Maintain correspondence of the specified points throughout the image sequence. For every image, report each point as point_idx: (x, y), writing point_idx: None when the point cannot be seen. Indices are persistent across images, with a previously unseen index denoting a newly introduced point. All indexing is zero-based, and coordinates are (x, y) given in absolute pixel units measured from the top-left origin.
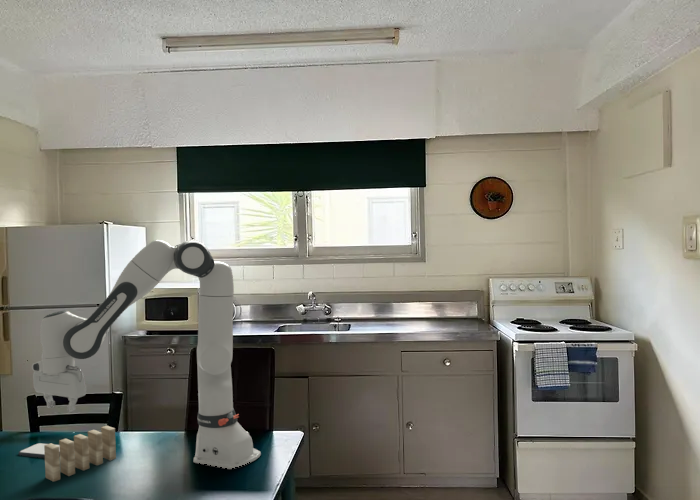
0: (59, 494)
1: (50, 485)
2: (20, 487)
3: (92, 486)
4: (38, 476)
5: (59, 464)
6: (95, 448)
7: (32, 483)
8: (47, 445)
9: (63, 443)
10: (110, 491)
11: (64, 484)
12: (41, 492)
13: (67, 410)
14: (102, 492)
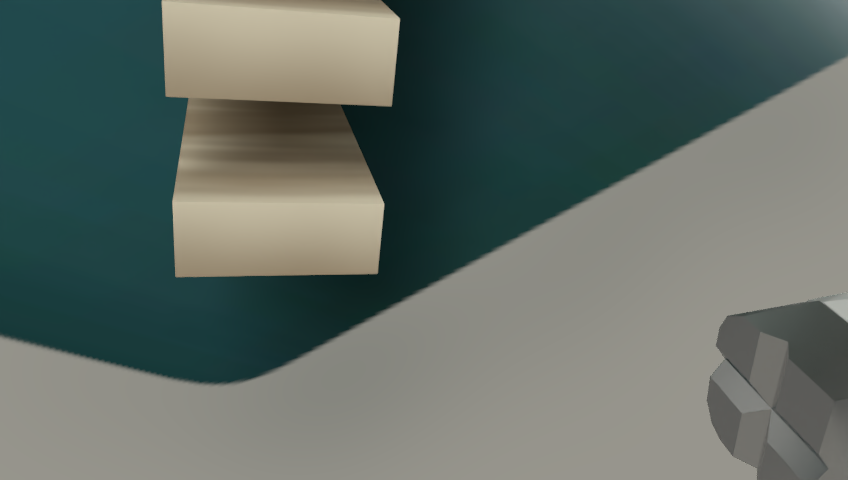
0: (556, 216)
1: None
2: (206, 309)
3: (671, 36)
4: (107, 156)
5: (351, 134)
6: None
7: None
8: (219, 259)
9: (285, 96)
10: (840, 19)
11: (452, 123)
12: (420, 264)
13: (725, 427)
14: (798, 56)
